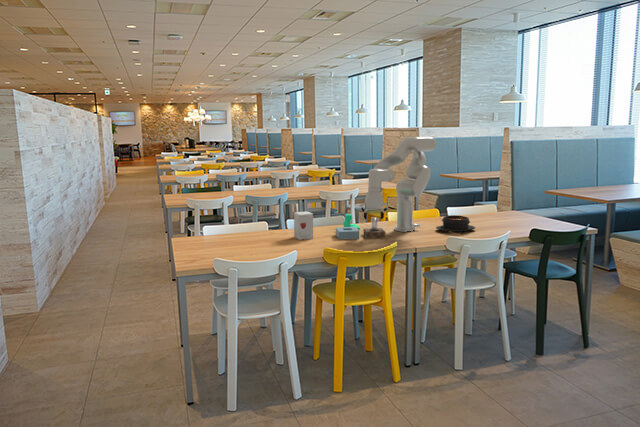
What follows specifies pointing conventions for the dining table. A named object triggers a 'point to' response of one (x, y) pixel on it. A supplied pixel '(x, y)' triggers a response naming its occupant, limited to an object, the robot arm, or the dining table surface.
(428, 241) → the dining table surface
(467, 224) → the casserole
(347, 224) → the camera mount
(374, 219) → the steel pin
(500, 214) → the dining table surface
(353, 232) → the socket block
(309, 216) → the supplement box
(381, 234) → the walnut mount block
